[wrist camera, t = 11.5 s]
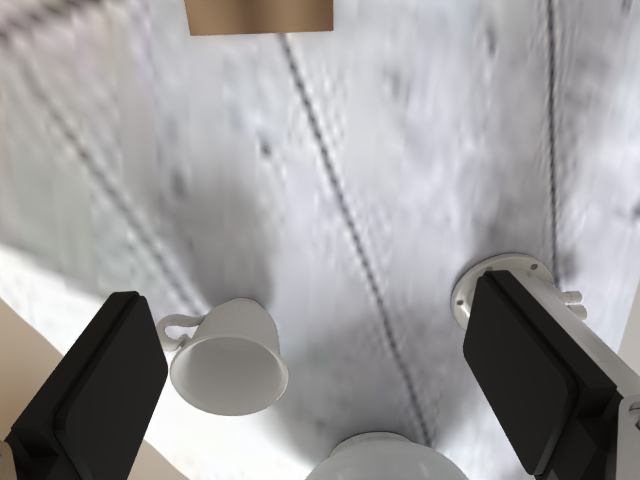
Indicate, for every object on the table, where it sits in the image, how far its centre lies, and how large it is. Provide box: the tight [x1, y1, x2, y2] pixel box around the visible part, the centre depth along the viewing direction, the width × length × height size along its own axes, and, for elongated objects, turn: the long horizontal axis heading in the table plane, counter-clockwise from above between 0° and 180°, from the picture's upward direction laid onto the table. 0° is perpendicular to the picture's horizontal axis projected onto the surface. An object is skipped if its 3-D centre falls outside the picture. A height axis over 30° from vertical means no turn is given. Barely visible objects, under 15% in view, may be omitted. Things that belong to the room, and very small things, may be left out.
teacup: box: [156, 298, 289, 416], centre depth 41 cm, size 12×15×10 cm
